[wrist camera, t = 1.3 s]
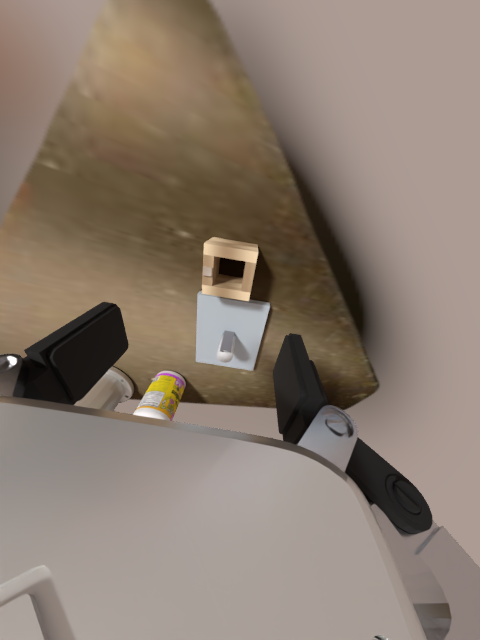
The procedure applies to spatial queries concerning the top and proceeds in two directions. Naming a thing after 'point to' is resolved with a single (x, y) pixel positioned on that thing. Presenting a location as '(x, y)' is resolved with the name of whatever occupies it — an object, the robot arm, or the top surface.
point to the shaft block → (229, 330)
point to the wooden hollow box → (224, 283)
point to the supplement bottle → (162, 396)
